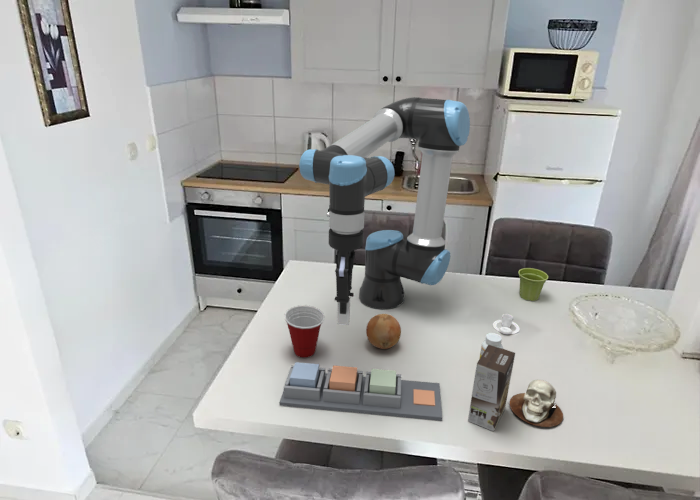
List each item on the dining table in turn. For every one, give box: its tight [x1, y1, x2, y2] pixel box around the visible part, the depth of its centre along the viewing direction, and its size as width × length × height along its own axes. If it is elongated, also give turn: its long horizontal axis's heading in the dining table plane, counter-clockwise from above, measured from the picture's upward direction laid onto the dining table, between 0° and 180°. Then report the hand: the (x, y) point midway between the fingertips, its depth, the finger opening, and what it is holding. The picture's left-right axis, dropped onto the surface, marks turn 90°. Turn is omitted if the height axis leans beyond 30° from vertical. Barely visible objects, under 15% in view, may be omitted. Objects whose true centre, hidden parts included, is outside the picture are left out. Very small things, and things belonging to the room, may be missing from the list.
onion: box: [365, 313, 402, 350], centre depth 136 cm, size 10×10×10 cm
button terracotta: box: [329, 365, 358, 392], centre depth 117 cm, size 6×6×3 cm
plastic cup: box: [283, 304, 326, 359], centre depth 132 cm, size 11×11×12 cm
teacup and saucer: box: [492, 313, 521, 335], centre depth 147 cm, size 9×8×4 cm
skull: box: [509, 379, 564, 428], centre depth 114 cm, size 12×10×10 cm
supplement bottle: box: [478, 332, 504, 359], centre depth 127 cm, size 5×5×10 cm
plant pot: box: [518, 267, 549, 302], centre depth 163 cm, size 9×9×9 cm
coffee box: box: [467, 345, 516, 432], centre depth 110 cm, size 9×6×16 cm
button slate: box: [290, 361, 320, 388], centre depth 118 cm, size 6×6×3 cm
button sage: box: [369, 368, 397, 395], centre depth 116 cm, size 6×6×3 cm
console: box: [278, 364, 443, 422], centre depth 118 cm, size 38×12×4 cm, turn 83°
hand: (343, 322), depth 114 cm, fingers closed
